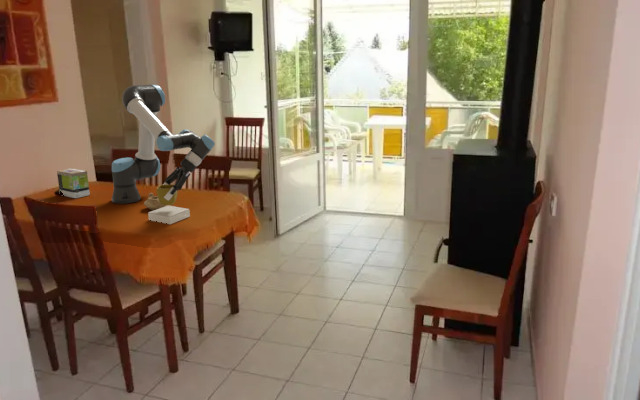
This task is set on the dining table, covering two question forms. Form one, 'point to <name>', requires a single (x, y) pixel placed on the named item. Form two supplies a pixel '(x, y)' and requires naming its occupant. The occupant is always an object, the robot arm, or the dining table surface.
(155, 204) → the oil lamp
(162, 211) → the plinth
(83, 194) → the tea box
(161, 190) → the flower pot
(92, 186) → the dining table surface
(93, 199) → the dining table surface
